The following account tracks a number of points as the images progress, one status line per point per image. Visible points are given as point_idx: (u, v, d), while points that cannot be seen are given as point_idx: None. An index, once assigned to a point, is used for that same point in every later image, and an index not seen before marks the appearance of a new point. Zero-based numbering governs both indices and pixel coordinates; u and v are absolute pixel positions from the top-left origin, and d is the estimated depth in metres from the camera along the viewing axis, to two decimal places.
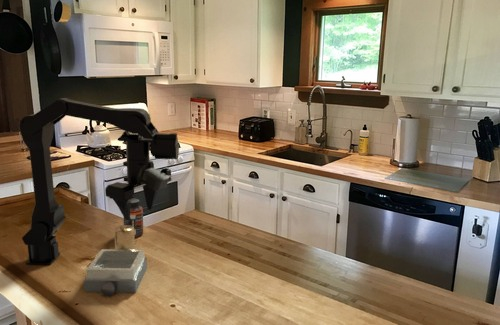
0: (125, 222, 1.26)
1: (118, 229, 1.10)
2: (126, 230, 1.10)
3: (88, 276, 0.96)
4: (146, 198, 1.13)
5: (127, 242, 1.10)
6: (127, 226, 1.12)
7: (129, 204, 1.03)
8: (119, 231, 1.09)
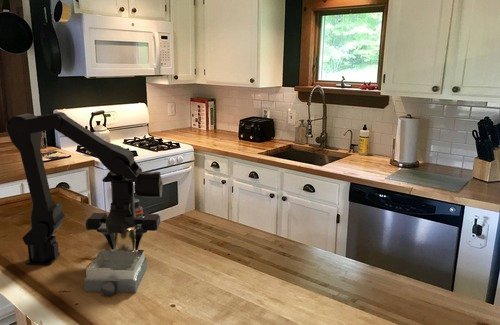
0: None
1: None
2: (126, 230, 1.10)
3: (88, 276, 0.96)
4: None
5: (128, 242, 1.10)
6: None
7: (108, 236, 1.10)
8: None
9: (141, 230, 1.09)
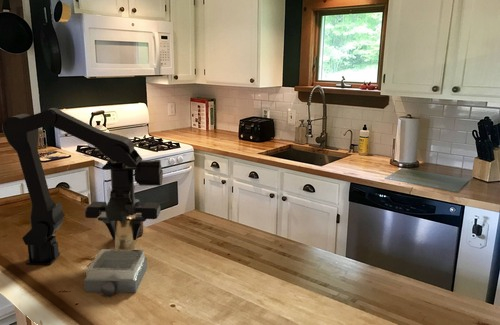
0: None
1: None
2: (126, 219, 1.09)
3: (88, 276, 0.96)
4: None
5: (127, 231, 1.09)
6: None
7: (109, 225, 1.09)
8: None
9: (140, 219, 1.08)
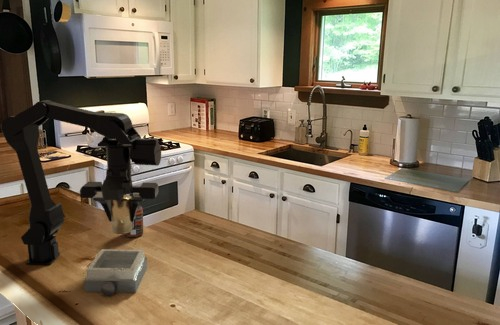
0: None
1: None
2: (123, 199, 1.05)
3: (88, 276, 0.96)
4: None
5: (124, 211, 1.04)
6: (124, 195, 1.07)
7: (105, 205, 1.05)
8: None
9: (137, 198, 1.04)
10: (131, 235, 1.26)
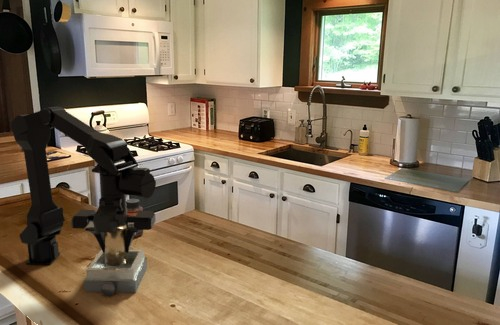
0: None
1: None
2: (117, 229, 0.98)
3: (88, 276, 0.96)
4: None
5: (119, 242, 0.98)
6: None
7: (98, 236, 0.98)
8: None
9: (132, 229, 0.97)
10: None
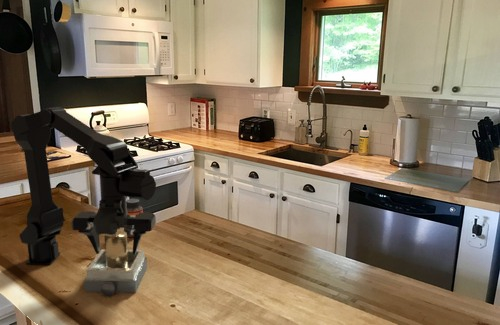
0: None
1: (109, 235, 0.99)
2: (118, 236, 0.98)
3: (88, 276, 0.96)
4: None
5: (119, 250, 0.98)
6: (118, 232, 1.01)
7: (91, 237, 0.98)
8: (110, 238, 0.98)
9: (139, 231, 0.97)
10: (131, 235, 1.26)
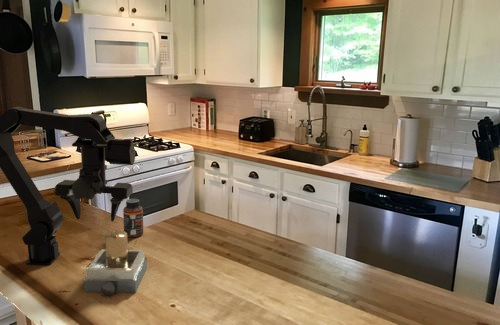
0: (125, 222, 1.26)
1: (109, 235, 0.99)
2: (118, 236, 0.99)
3: (88, 276, 0.96)
4: None
5: (120, 249, 0.98)
6: (119, 232, 1.01)
7: (72, 203, 1.07)
8: (110, 238, 0.98)
9: None
10: (131, 235, 1.26)
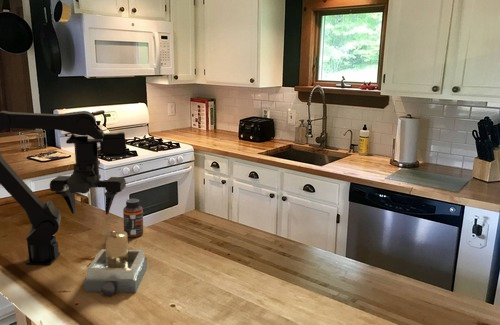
0: (125, 222, 1.26)
1: (109, 235, 0.99)
2: (118, 236, 0.99)
3: (88, 276, 0.96)
4: None
5: (120, 249, 0.98)
6: (119, 232, 1.01)
7: (67, 198, 1.10)
8: (110, 237, 0.98)
9: (111, 192, 1.09)
10: (131, 235, 1.26)
